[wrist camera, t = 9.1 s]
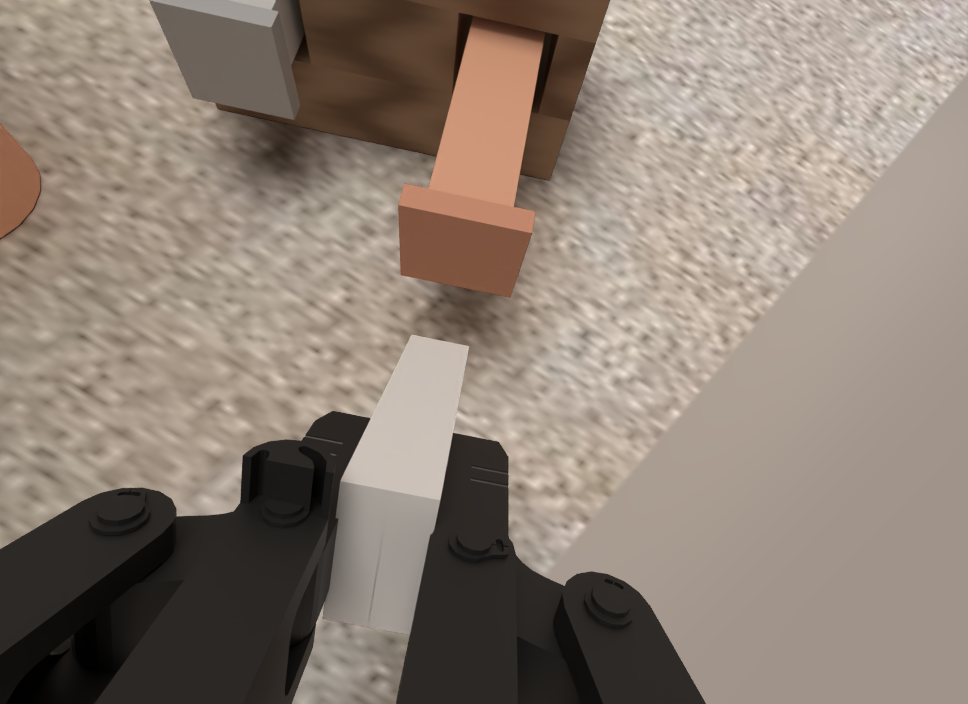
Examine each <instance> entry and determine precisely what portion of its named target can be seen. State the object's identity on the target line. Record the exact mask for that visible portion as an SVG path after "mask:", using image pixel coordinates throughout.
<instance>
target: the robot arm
mask: <svg viewBox="0 0 968 704" xmlns="http://www.w3.org/2000/svg"><path fill="white" fill-rule="evenodd" d="M468 350H469V346H465V345H461V344H456V343H451V342H446V341H441V340H436V339H431V338H426V337H421V336H416V335H411V337H410V339H409V341H408V343H407V345H406V347H405V349H404V351H403V353H402V356H401V358H400V360H399V362H398V364H397V366H396V368H395V370H394V372H393V374H392V376H391V378H390V380H389V382H388V384H387V386H386V388H385V390H384V392H383V394H382V397H381V399H380V401H379V403H378V405H377V407H376V409H375V411H374V413H373V415H372V417H371V418H366V417H361V416H356V415H351V414H346V413H341V412H336V411H332V412H330V413H328V414H326V415H325V416H323V417H321V418H319V419H317V420H316V421H315V422H314V423H313V425H312V426H311V428H310V429H309V431H308V432H307V433H306V436H305V437H304V438H303V439H302V441H297V440H279V441H270V442H267V443H264V444H261V445H258V446H255V447H253V448H252V449H251V450H249V451H248V452H247V453H245V454H244V455H243V463H242V482H241V500H240V504H239V505H238V507H237V508H236V509H235V511H234V512H230V513H226V514H218V515H208V516H178V517H176V507H175V505H174V503H173V501H172V499H171V498H169V497H168V496H166V495H164V494H163V493H161V492H159V491H155V490H150V489H146V488H121V489H117V490H112V491H107V492H103V493H100V494H97V495H95V496H93V497H91V498H88V499H86V500H84V501H82V502H80V503H78V504H76V505H75V506H73V507H71V508H70V509H68V510H66V511H65V512H63V513H61V514H59V515H58V516H56V517H54V518H53V519H51V520H49V521H48V522H46V523H44V524H42V525H41V526H39V527H37V528H36V529H34V530H32V531H31V532H29V533H27V534H26V535H24V536H22V537H20V538H19V539H17V540H15V541H14V542H12V543H10V544H9V545H7V546H5V547H3V548H2V549H0V704H292V701H293V698H294V696H295V693H296V690H297V688H298V685H299V683H300V680H301V677H302V675H303V672H304V669H305V667H306V664H307V661H308V659H309V656H310V654H311V651H312V648H313V642H314V635H315V627H316V622H317V619H318V617H319V614H320V612H321V609H322V607H323V604H324V601H325V604H324V612H323V619H326V620H332V621H337V622H342V623H348V624H353V625H359V626H364V627H369V628H375V629H380V630H386V631H391V632H396V633H402V634H407V635H410V637H409V642H408V647H407V652H406V656H405V661H404V666H403V671H402V676H401V681H400V686H399V691H398V695H397V701H396V704H706V703H705V701H704V700H703V698H702V696H701V694H700V693H699V691H698V689H697V687H696V686H695V684H694V682H693V680H692V679H691V677H690V675H689V673H688V672H687V670H686V668H685V666H684V665H683V663H682V661H681V659H680V658H679V656H678V654H677V652H676V651H675V649H674V647H673V645H672V643H671V642H670V640H669V638H668V636H667V635H666V633H665V631H664V630H663V628H662V626H661V624H660V622H659V621H658V619H657V617H656V615H655V614H654V612H653V610H652V608H651V607H650V605H649V604H648V603H647V602H646V600H645V599H644V598H643V597H642V595H641V594H640V593H639V592H638V591H636V590H635V589H634V588H632V587H631V586H630V585H629V584H627V583H626V582H624V581H622V580H620V579H617V578H615V577H613V576H610V575H608V574H603V573H597V572H586V573H580V574H576V575H575V576H573V577H572V578H571V579H569V580H568V581H567V582H566V585H565V586H563V585H561V584H559V583H557V582H554V581H552V580H550V579H548V578H545V577H543V576H542V575H540V574H538V573H536V572H534V571H533V570H531V569H530V568H529V567H527V566H526V565H525V564H524V563H522V562H521V560H520V559H519V558H518V557H517V556H516V553H515V550H514V546H513V543H512V542H511V540H510V539H509V536H508V456H507V454H506V452H505V451H504V449H503V448H502V446H501V445H500V443H499V442H497V441H492V440H486V439H481V438H476V437H471V436H466V435H461V434H456V433H453V430H454V424H455V419H456V414H457V408H458V403H459V398H460V392H461V387H462V382H463V376H464V371H465V366H466V360H467V355H468Z"/></svg>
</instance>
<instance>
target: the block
mask: <svg viewBox="0 0 968 704" xmlns="http://www.w3.org/2000/svg"><path fill="white" fill-rule="evenodd" d="M609 2H610V0H299V4H300V9H301V14H302V20H303V25H304V30H305V35H304V37H303V39H302V42H301V44H300V46H299V49H298V51H297V53H296V55H295V58H294V60H293V62H292V65H291V67H292V71H293V76H294V80H295V84H296V89H297V93H298V97H299V102H300V107H299V110H298V112H297V115H296V117H295V120H292V119H288V118H283V117H278V116H274V115H269V114H264V113H260V112H255V111H251V110H246V109H241V108H237V107H232V106H227V105H223V104H218V103H216V106H217V108H218V109H221V110H226V111H230V112H235V113H240V114H244V115H249V116H254V117H258V118H263V119H268V120H272V121H277V122H281V123H286V124H291V125H295V126H300V127H305V128H309V129H314V130H319V131H323V132H328V133H332V134H337V135H342V136H346V137H351V138H356V139H360V140H365V141H370V142H374V143H379V144H383V145H388V146H393V147H397V148H402V149H407V150H411V151H416V152H420V153H425V154H430V155H434V156H437V154H438V150H439V146H440V142H441V139H442V135H443V131H444V127H445V123H446V119H447V116H448V112H449V108H450V104H451V100H452V96H453V93H454V89H455V85H456V81H457V77H458V73H459V70H460V66H461V62H462V58H463V54H464V50H465V47H466V43H467V39H468V35H469V31H470V28H471V24H472V20H473V16H477V17H481V18H486V19H490V20H495V21H499V22H503V23H508V24H512V25H517V26H521V27H525V28H530V29H534V30H539V31H543V32H545V36H544V42H543V47H542V53H541V58H540V64H539V69H538V75H537V80H536V86H535V92H534V97H533V103H532V108H531V114H530V119H529V125H528V130H527V136H526V141H525V147H524V152H523V158H522V163H521V169H520V174H522V175H527V176H532V177H536V178H541V179H546V180H550V178H551V175H552V172H553V169H554V166H555V163H556V160H557V157H558V154H559V151H560V148H561V145H562V142H563V139H564V136H565V133H566V130H567V127H568V125H569V122H570V119H571V116H572V113H573V110H574V107H575V104H576V101H577V98H578V95H579V92H580V89H581V86H582V83H583V80H584V77H585V74H586V71H587V68H588V65H589V62H590V59H591V56H592V53H593V50H594V47H595V44H596V41H597V38H598V35H599V32H600V29H601V26H602V23H603V20H604V17H605V14H606V11H607V8H608V5H609Z"/></svg>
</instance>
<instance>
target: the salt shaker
mask: <svg viewBox="0 0 968 704" xmlns="http://www.w3.org/2000/svg"><path fill="white" fill-rule="evenodd" d="M39 193H40V173H39V171H38V169H37V168H36V166H35V164H34V162H33V160H32V158H31V157H30V156H29V155H28V154H27V153H26V152H25V151H24V149H23V148H22V147H21V146H20V145H19V144H18V143H17V141H16V140H15V139H14V138H13V137H12V136H11V135H10V134H9V132H8V131H7V130H6V129H5V128H4V127H3V126H2V124H1V123H0V238H2V237H3V236H4V235H6V234H7V233H9V232H10V231H12V230H13V229H14V228H16V227H17V226H19V225H20V224H21V222H22V221H23V220H24V219H25V218H26V216H27V215H28V214H29V213H30V212H31V211H32V209H33V208H34V205H35V203H36V200H37V198H38V195H39Z"/></svg>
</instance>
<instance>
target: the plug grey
mask: <svg viewBox="0 0 968 704" xmlns="http://www.w3.org/2000/svg"><path fill="white" fill-rule="evenodd" d="M149 1H150V3H151V5H152V7H153V10H154V12H155V14H156V16H157V19H158V21H159V23H160V25H161V28H162V30H163V32H164V34H165V37H166V39H167V41H168V43H169V46H170V48H171V50H172V52H173V55H174V57H175V59H176V61H177V63H178V66H179V68H180V70H181V72H182V75H183V77H184V79H185V81H186V84H187V86H188V88H189V90H190V93H191V95H192V97H193V98H195V99H200V100H204V101H209V102H214V103H218V104H223V105H227V106H232V107H237V108H241V109H246V110H251V111H255V112H260V113H264V114H269V115H274V116H278V117H283V118H288V119H292V120H295V117H296V115H297V112H298V110H299V107H300V102H299V97H298V93H297V89H296V84H295V80H294V76H293V71H292V67H291V65H292V62H293V60H294V58H295V55H296V53H297V51H298V49H299V46H300V44H301V42H302V39H303V37H304V35H305V30H304V25H303V20H302V14H301V9H300V4H299V0H149Z"/></svg>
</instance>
